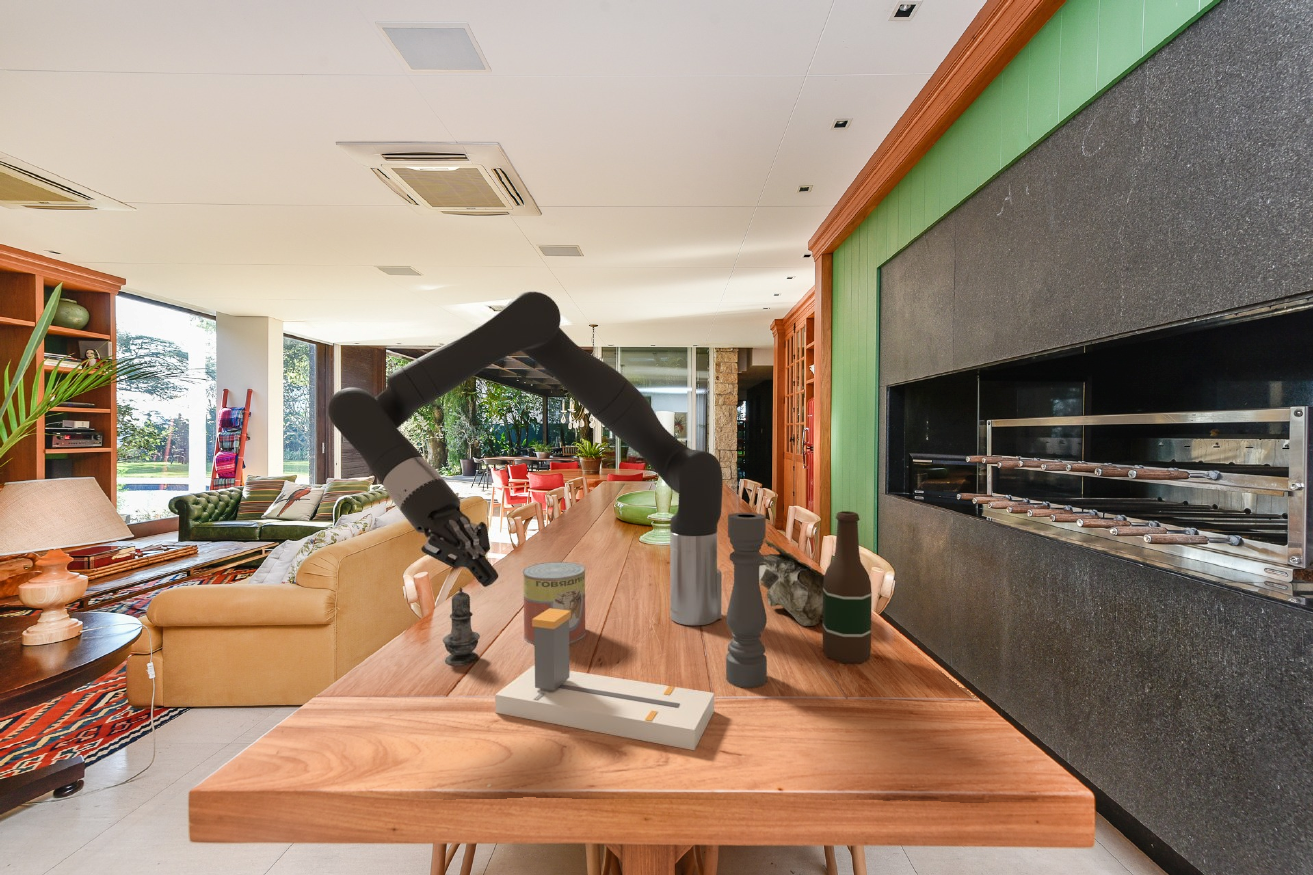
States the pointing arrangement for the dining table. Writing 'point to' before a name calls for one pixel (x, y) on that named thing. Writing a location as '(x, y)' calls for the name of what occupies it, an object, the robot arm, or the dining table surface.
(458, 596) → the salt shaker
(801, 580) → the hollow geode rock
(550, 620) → the fader knob
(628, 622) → the dining table surface
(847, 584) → the beer bottle
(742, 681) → the candle holder
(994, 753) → the dining table surface
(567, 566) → the canned food
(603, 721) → the fader console
